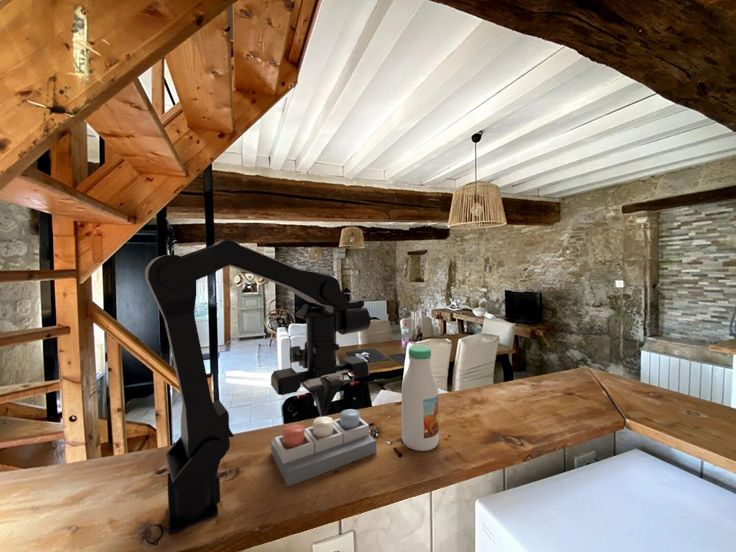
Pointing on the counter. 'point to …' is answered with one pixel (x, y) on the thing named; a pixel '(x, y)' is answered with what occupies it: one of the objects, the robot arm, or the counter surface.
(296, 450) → the console
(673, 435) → the counter surface
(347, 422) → the button blue
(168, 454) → the robot arm
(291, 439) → the button red
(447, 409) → the counter surface
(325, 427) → the button ivory
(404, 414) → the milk bottle
